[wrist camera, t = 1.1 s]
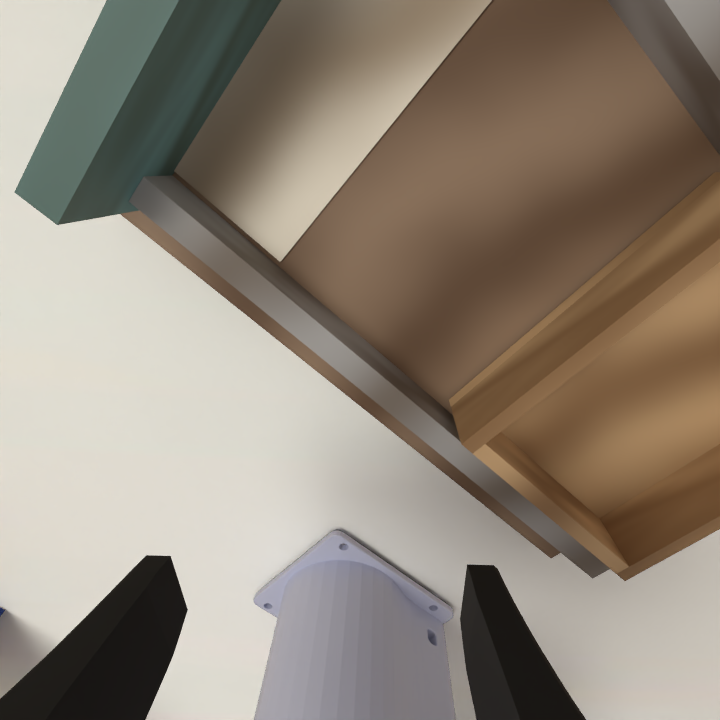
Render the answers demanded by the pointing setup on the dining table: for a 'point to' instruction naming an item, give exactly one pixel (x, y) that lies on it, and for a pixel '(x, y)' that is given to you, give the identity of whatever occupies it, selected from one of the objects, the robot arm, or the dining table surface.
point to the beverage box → (1, 611)
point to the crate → (618, 398)
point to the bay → (391, 175)
